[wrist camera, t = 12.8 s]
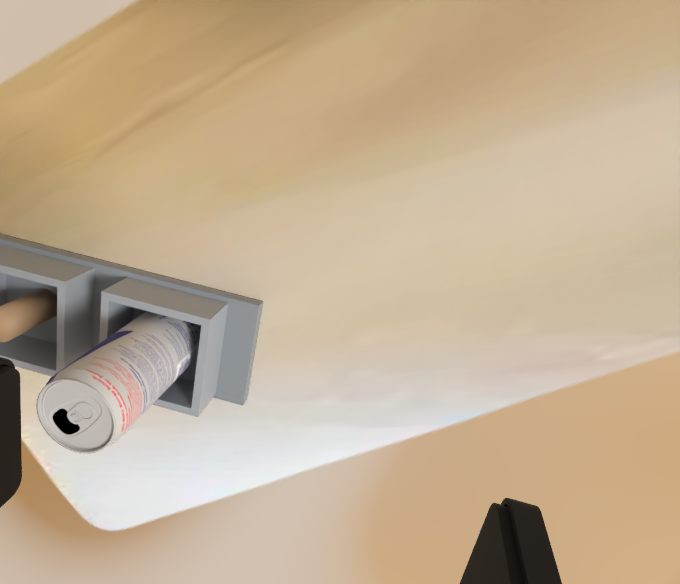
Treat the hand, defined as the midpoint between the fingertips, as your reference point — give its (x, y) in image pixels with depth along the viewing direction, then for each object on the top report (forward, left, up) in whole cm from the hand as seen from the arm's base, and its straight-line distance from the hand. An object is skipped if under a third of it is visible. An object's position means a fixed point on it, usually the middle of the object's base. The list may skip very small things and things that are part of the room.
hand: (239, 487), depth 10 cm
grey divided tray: (+13, -19, -28) cm, 36 cm away
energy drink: (+13, -14, -28) cm, 33 cm away
